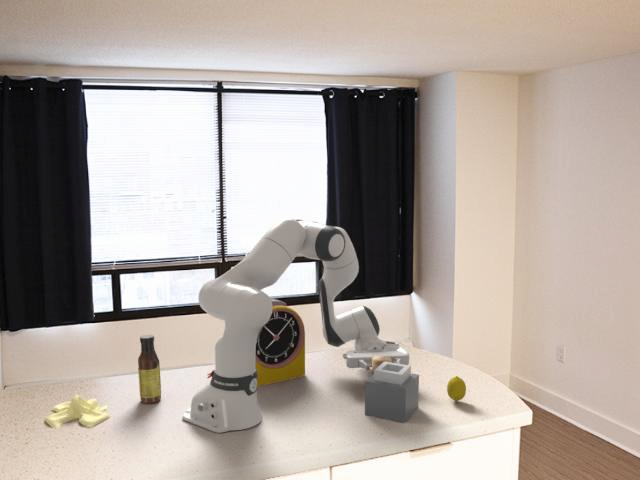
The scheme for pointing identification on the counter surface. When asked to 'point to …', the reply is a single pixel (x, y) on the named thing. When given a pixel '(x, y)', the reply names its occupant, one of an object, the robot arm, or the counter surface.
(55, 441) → the counter surface
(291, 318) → the alarm clock
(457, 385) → the lemon
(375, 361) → the stopper
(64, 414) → the pale yellow lumpy piece
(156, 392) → the sauce bottle
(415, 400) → the grey box with opening
